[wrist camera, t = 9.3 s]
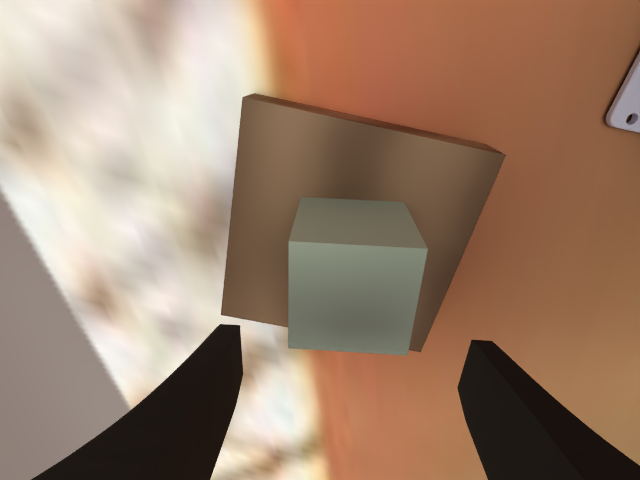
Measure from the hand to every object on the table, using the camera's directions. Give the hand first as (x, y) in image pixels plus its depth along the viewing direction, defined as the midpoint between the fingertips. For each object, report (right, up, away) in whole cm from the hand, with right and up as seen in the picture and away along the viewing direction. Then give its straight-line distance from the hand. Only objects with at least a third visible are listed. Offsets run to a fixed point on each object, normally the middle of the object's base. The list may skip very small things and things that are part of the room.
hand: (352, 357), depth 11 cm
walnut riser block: (0, +5, +10) cm, 11 cm away
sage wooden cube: (0, +3, +7) cm, 8 cm away
